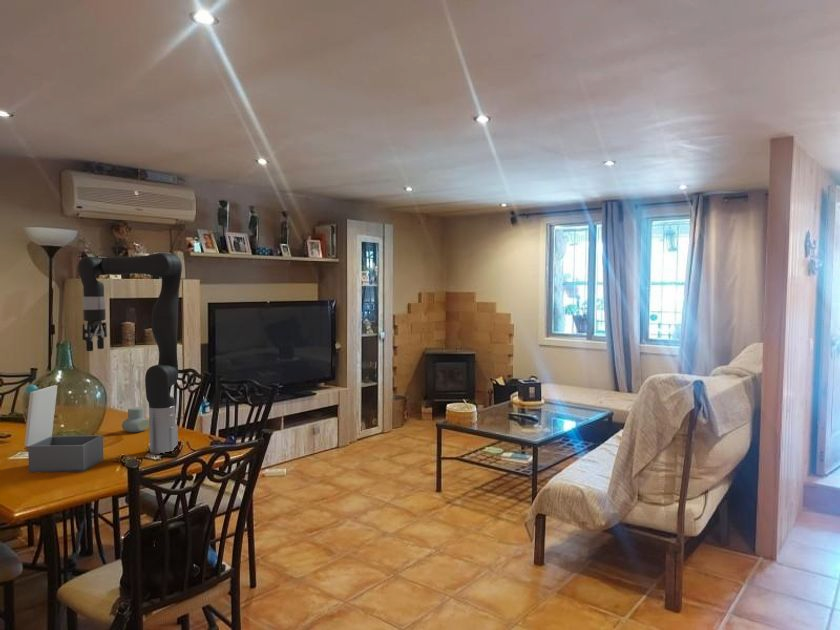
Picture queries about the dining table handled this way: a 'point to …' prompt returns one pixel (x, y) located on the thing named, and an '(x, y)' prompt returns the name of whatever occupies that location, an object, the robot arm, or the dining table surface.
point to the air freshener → (135, 420)
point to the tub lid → (40, 413)
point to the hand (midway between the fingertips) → (95, 349)
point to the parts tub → (65, 454)
